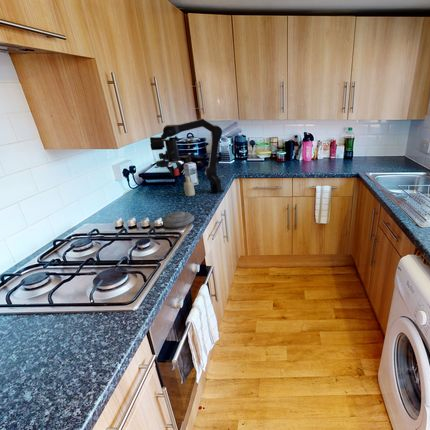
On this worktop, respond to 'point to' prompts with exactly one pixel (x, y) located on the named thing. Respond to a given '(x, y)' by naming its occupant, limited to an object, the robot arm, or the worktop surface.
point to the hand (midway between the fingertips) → (176, 176)
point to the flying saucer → (177, 219)
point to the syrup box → (191, 172)
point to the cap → (176, 171)
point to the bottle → (189, 187)
